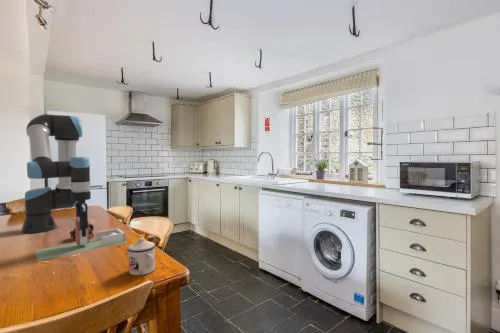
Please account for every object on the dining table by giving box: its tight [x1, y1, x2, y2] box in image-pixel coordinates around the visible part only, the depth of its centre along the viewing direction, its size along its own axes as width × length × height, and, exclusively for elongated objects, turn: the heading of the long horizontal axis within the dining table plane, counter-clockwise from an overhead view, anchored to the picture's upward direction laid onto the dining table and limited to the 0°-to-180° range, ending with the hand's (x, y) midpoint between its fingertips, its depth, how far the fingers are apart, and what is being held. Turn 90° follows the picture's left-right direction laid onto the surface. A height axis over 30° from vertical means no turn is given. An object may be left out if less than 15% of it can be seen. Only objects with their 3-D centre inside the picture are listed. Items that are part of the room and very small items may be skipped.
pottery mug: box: [69, 223, 95, 240], centre depth 138 cm, size 12×10×8 cm
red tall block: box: [74, 217, 90, 245], centre depth 124 cm, size 4×4×12 cm
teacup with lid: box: [127, 237, 156, 276], centre depth 97 cm, size 12×9×12 cm
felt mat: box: [34, 238, 128, 262], centre depth 125 cm, size 16×34×1 cm, turn 131°
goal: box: [95, 228, 127, 246], centre depth 132 cm, size 12×10×4 cm
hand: (82, 241), depth 124 cm, fingers closed on red tall block, 4 cm apart
